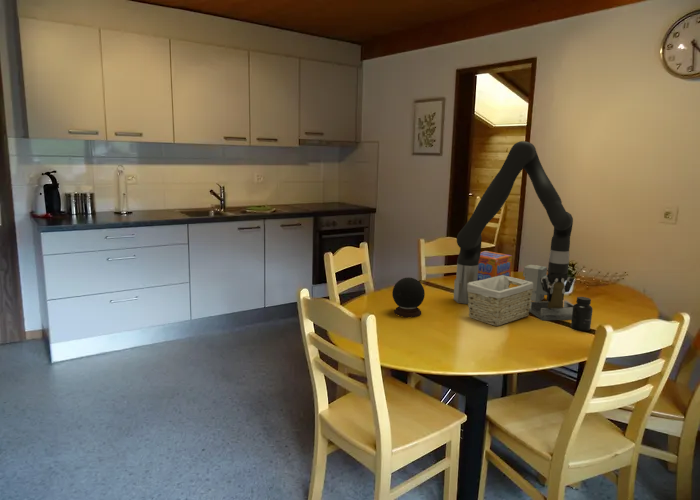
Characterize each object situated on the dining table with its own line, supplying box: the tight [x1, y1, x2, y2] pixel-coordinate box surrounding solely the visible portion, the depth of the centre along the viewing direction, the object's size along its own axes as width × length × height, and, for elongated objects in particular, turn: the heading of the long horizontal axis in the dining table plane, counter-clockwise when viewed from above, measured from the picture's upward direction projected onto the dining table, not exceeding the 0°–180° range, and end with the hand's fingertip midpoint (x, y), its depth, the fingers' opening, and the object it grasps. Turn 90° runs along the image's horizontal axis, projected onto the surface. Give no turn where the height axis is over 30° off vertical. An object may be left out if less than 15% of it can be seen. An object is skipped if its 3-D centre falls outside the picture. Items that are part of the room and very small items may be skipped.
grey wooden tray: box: [529, 300, 575, 321], centre depth 206 cm, size 16×12×4 cm
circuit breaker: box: [522, 264, 549, 302], centre depth 227 cm, size 8×14×15 cm, turn 53°
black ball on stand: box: [391, 277, 426, 318], centre depth 205 cm, size 13×13×15 cm
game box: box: [477, 250, 513, 286], centre depth 253 cm, size 16×16×16 cm
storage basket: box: [467, 275, 533, 327], centre depth 202 cm, size 24×16×15 cm
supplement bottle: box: [570, 296, 594, 332], centre depth 190 cm, size 7×7×12 cm
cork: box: [547, 282, 565, 308], centre depth 204 cm, size 6×6×11 cm
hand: (554, 301), depth 205 cm, fingers closed on cork, 4 cm apart
